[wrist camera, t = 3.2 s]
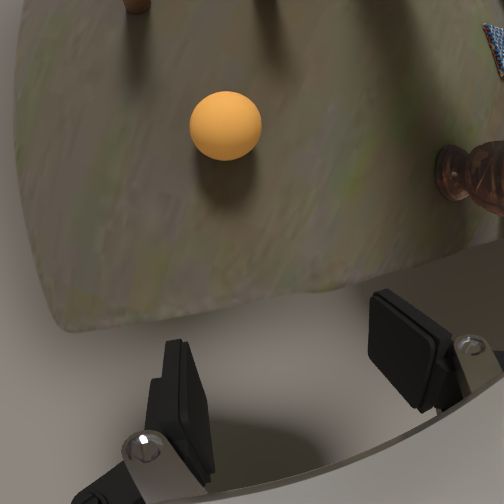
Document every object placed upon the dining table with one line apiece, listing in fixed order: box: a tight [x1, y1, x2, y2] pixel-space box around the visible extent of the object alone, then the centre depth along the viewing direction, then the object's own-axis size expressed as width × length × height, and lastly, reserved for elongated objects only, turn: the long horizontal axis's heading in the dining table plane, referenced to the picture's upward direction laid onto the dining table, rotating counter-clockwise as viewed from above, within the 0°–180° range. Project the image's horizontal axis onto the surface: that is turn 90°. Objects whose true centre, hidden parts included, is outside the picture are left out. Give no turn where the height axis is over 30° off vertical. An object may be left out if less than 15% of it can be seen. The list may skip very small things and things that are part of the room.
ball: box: [190, 91, 262, 161], centre depth 24 cm, size 6×6×6 cm
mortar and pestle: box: [435, 141, 504, 217], centre depth 23 cm, size 12×9×20 cm
